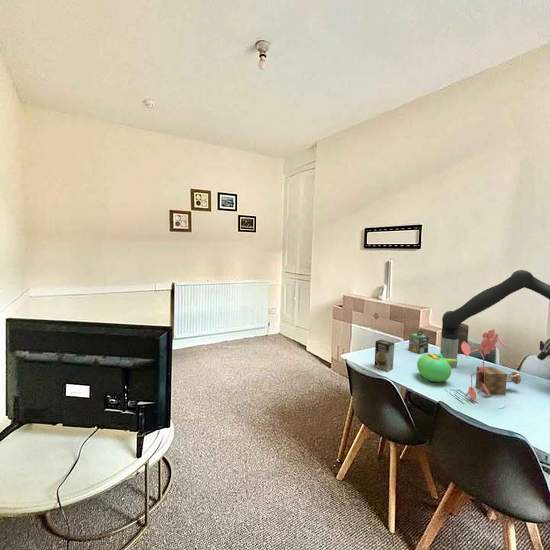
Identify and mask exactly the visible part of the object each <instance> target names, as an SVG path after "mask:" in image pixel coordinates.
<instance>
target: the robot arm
mask: <svg viewBox="0 0 550 550" xmlns="http://www.w3.org/2000/svg"><path fill="white" fill-rule="evenodd" d="M524 288H525V289H527V290H531V291H533V292H535V293H537V294H539V295H541V296H543V297H544V298H546V299H548V300H550V284H548V283H546V282H544V281H541V280H540V279H538V278H536V277H535V276H534V275H533V274H532V273H531V272H529V271H528V270H523V269H518V270H516V271H514V272H512V274H511V275H510V276H509V277H507V278H506V279H505V280H503V281H502V282H500V283H499V284H496V285H493V286H491V287H488V288H487V289H484V290H483V291H481V292H479V293H477V294H476V295H474V296H473V297H470V299H469V300H468V301H466V302H465V303H464V304H463V305H462V306H460V307H459V308H456V309H455V310H448V311H446V312H445V313H444V314H443V315H442V318H441V322H442V324H441V325H442V326H441V336H440V337H441V339H440V350H439V353H441V354H442V356H443V358H446V359H456V360H458V354H459V353H458V339H459V326H460V324H461V323H462V324H463V322H465V321H466V320H468V319H469V318H471V317H473V316H475V315H477V314H480V313H482V312H483V311H486V310H487V309H489V308H491V307H493V306H495V305H496V304H498V303H499V302H501V301H503V300H504V299H505V298H506V297H507V298H508V296H510V295H511V294H514V293H515V292H518V291H520V290H522V289H524ZM539 350H540V351H541V352H539V354H537V356H536V358H538V360H540V361H544V360H545V359H547V357H550V338H549V339H546V341H543V340H540V341H539ZM457 364H458V361H457V362H454V363H450V366H451V368H456V367H457V366H458V365H457Z"/></svg>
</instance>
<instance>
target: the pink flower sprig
mask: <svg viewBox="0 0 550 550" xmlns="http://www.w3.org/2000/svg"><path fill="white" fill-rule="evenodd" d="M495 333H496V332H495V329H494V328H492V329H489V330H488V331H487V332H483V333H482V338H483V339H482V341H481V342H480V345H479V348H477V349H474V350H471V346H470V345H469V344H467V343H466V342H465V341H463V343H462V345H461V349H462V351H463V353H462V354H464V355H465V356H466V357H469V356H470V354H473V353H475V352H476V351H479V353H480V354H481V357H482V365H481V366H478V367H479V370H480V371H481V372H484V384H483V387H484V389H485V391H486V392H487V394H488V397H491V395H490V394H489V391H488V389H487V387H486V386H485V371H486V368H485V367H486V366H485V356H486V355H490V353H491V351H495V350H496V348H497V347H496V344H497V343H498V342H499V343H500V344H501V345H502V346H503V347H504V348H508V347H507V346H508V345H506V344H505V343H504V341H503V340H502V339H501V338H500V337H499V333H496V334H495ZM482 351H483V353H482ZM480 371H478V372H480ZM478 372H477V371H476V372H474V373H472V374H471V375H470V376H471V377H470V378H471V379H470V380H471V381H470V383H471V384H470V385H471V386H469V387H468V391H467V392H466V393H465V395H464V397H467V396H468V395H469V397H470V399H471V400H472V401H473V402H474V403H475V402H476V401H477V394H480V393H481V392H482V391H481V390H482V389H483V387H482V388H481V389H479V390H478V392H476V389H475V388H474V387H473V375H476V373H478ZM487 394H486V395H487ZM456 398H457V400H459V399H458V397H456ZM504 402H506V400H505V399H504ZM504 408H505V406H503V407H502V408H499V410H500V409H504Z"/></svg>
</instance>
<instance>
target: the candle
mask: <svg viewBox="0 0 550 550" xmlns="http://www.w3.org/2000/svg"><path fill="white" fill-rule="evenodd" d="M463 341H465V342H466V343H467V344H468V341H469V325H468V324H465V323H463V322H462V323H461V324H460V326H459V339H458V353H457V354H464V353H463V351H462V349H461V345H462V343H463ZM468 345H469V344H468Z"/></svg>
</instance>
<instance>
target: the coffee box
mask: <svg viewBox="0 0 550 550" xmlns="http://www.w3.org/2000/svg"><path fill="white" fill-rule="evenodd" d="M374 348H375V349H374V350H375V351H374V368H376V369H379V370H381V369H382V371H384V372H387V373H388V372H390V371H392V370H393V369H394V357H395V356H394V355H395V343H394V342H392V341H389V340H384V339H378V340H376V341H375V347H374Z"/></svg>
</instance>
